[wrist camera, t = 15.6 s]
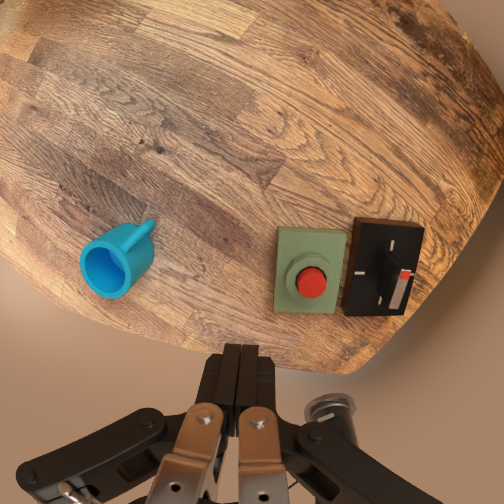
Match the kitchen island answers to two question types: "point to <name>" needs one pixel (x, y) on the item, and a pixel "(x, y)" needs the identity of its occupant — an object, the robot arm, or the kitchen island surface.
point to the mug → (117, 259)
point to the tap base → (378, 263)
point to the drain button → (311, 282)
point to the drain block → (306, 256)
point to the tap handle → (393, 281)
